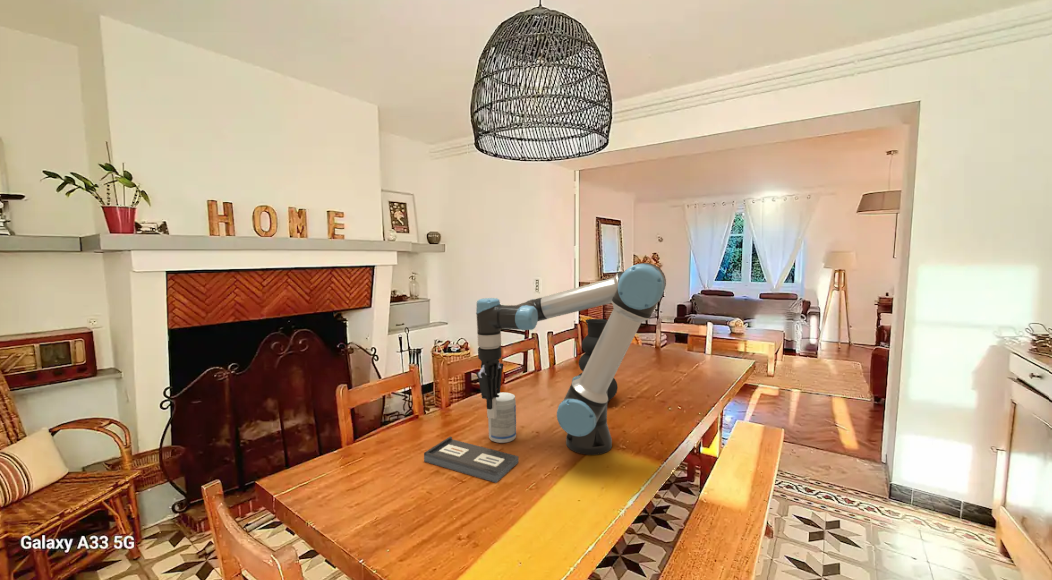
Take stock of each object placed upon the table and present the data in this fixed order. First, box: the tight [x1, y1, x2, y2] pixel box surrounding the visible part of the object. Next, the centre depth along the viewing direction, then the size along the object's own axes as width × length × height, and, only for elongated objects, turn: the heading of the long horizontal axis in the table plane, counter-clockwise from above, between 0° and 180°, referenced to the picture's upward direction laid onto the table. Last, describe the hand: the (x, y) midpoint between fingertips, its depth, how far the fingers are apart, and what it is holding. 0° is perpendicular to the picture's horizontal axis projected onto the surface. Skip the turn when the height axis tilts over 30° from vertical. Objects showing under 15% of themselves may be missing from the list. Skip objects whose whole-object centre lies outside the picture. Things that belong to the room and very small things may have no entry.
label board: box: [423, 436, 519, 484], centre depth 134 cm, size 26×13×3 cm, turn 62°
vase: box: [577, 318, 618, 404], centre depth 183 cm, size 18×18×35 cm
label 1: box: [439, 444, 469, 457], centre depth 136 cm, size 8×5×1 cm, turn 62°
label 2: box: [473, 453, 505, 467], centre depth 130 cm, size 8×5×1 cm, turn 62°
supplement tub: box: [487, 391, 517, 444], centre depth 150 cm, size 10×10×15 cm
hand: (492, 417), depth 142 cm, fingers closed
